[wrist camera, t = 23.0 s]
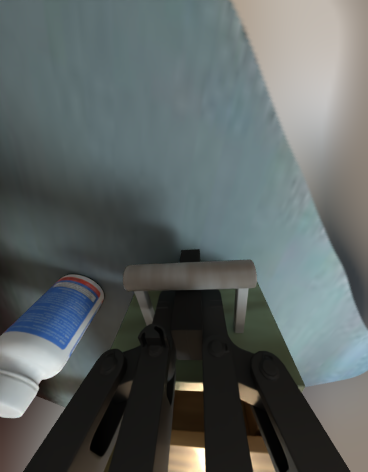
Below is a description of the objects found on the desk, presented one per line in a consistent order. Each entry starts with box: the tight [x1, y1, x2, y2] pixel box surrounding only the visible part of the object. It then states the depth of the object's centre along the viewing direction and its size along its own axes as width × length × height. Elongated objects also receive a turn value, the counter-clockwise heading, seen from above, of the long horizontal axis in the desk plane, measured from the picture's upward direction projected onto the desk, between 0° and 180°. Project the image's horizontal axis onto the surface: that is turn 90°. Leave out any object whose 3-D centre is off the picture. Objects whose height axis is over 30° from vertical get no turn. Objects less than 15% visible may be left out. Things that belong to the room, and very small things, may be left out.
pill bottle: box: [0, 274, 104, 418], centre depth 14 cm, size 6×5×10 cm
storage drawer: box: [111, 260, 305, 436], centre depth 14 cm, size 19×11×8 cm, turn 6°
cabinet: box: [168, 430, 275, 472], centre depth 20 cm, size 15×13×10 cm
